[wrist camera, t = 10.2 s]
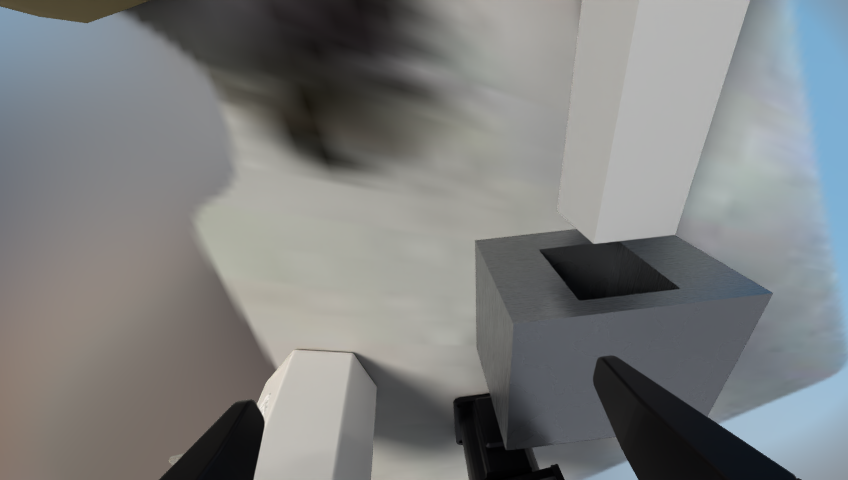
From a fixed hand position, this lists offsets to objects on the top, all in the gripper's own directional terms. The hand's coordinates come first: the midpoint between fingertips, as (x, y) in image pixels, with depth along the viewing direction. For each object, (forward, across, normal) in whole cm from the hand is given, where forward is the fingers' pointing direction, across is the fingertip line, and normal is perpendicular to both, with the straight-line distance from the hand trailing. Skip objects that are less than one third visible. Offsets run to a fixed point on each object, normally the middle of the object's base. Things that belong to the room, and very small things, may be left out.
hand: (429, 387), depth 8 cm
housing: (+13, -10, +8) cm, 18 cm away
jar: (+13, +9, +15) cm, 22 cm away
